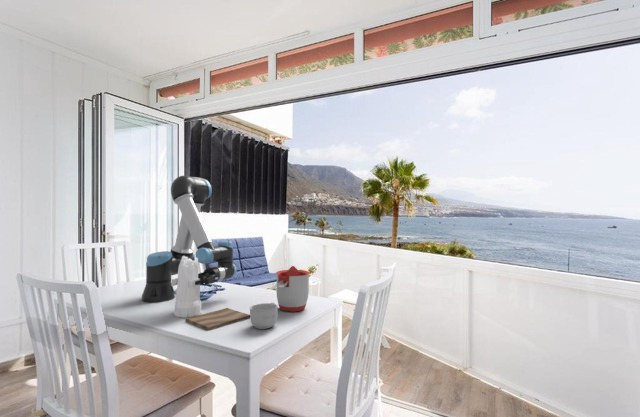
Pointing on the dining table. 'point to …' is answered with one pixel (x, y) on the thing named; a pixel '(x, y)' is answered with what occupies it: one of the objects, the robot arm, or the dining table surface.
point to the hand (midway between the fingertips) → (180, 283)
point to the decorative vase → (187, 289)
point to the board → (217, 318)
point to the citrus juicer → (292, 289)
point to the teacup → (263, 315)
